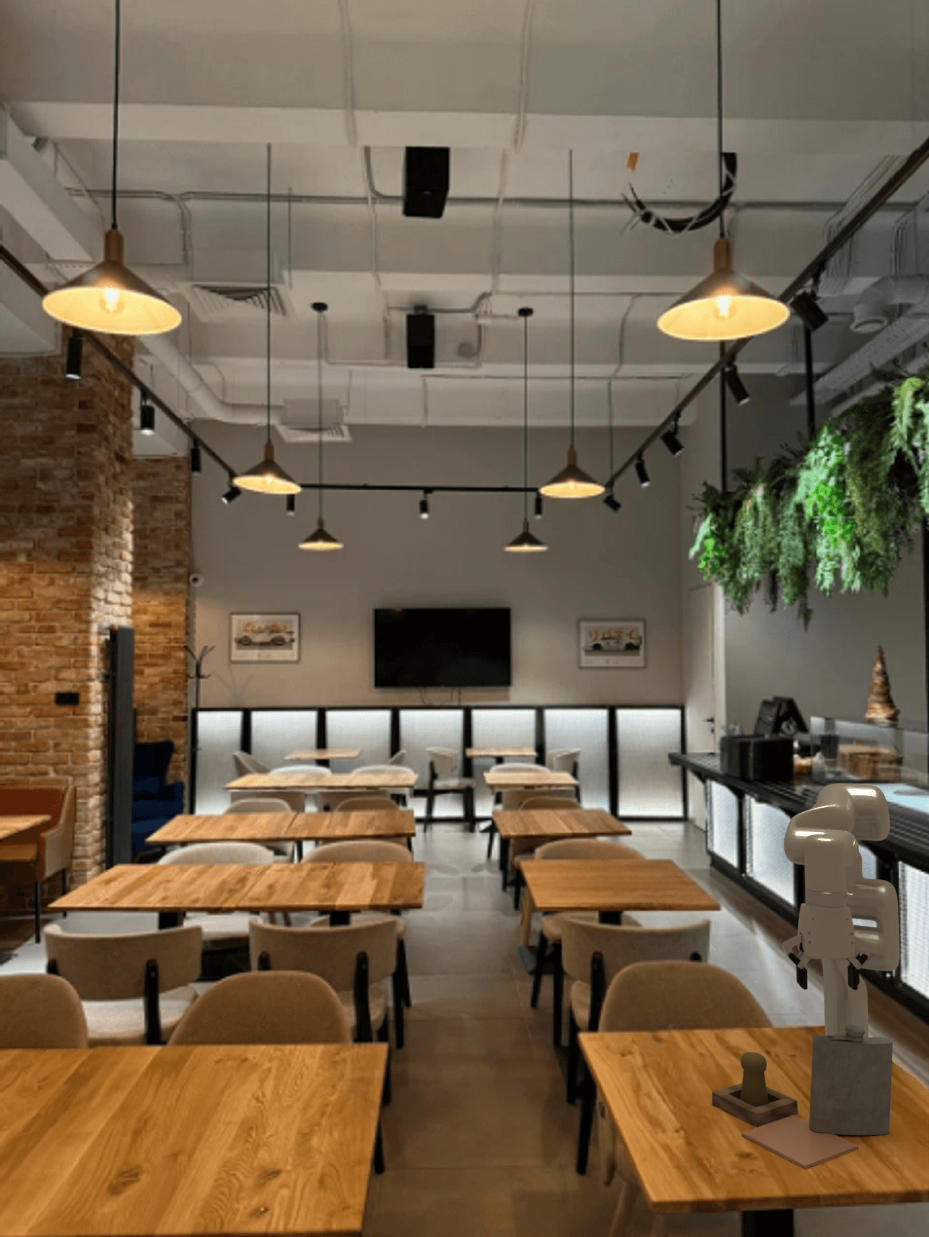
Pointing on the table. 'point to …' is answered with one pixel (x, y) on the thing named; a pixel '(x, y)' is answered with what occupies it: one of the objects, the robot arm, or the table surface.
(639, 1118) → the table surface
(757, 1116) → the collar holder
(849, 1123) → the hip flask
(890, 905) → the robot arm
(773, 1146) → the terracotta tile
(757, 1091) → the olive pawn shape
